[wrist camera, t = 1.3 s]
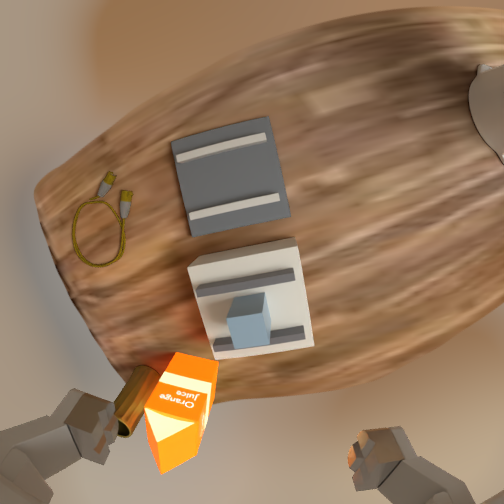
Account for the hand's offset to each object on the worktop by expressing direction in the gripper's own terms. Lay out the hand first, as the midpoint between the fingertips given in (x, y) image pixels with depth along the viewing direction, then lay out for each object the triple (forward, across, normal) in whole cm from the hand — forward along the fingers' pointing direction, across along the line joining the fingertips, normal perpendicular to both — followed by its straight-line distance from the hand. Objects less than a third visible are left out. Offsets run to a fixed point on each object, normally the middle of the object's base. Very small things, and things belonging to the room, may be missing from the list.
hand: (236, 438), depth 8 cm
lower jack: (+34, +4, -8) cm, 35 cm away
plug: (+28, -2, +8) cm, 29 cm away
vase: (+36, +15, +30) cm, 49 cm away
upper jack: (+34, -2, +8) cm, 35 cm away
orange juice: (+35, +6, +26) cm, 44 cm away
